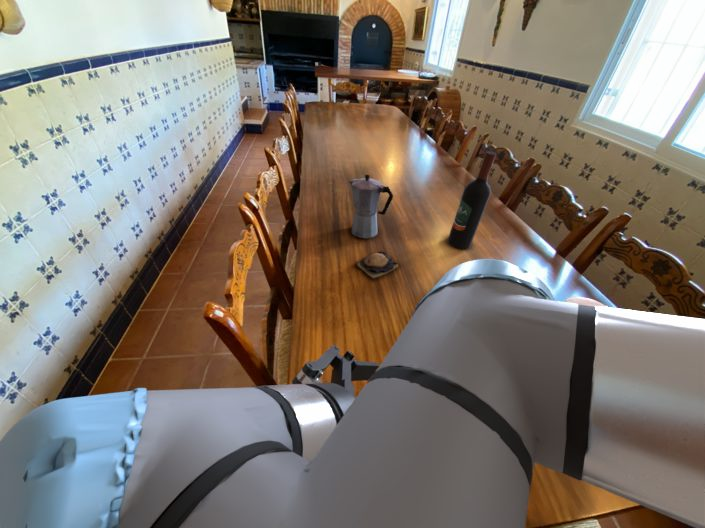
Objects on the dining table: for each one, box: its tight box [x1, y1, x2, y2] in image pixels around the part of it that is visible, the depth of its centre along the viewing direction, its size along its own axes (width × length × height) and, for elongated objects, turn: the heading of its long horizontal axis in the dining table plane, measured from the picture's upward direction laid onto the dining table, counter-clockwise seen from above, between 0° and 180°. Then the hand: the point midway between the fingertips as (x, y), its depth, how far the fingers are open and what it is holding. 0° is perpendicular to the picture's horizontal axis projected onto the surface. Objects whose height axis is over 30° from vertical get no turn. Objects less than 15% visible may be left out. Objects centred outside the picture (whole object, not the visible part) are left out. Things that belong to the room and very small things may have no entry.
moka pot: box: [348, 174, 394, 239], centre depth 94 cm, size 10×15×20 cm, turn 64°
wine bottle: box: [447, 150, 497, 250], centre depth 90 cm, size 8×8×30 cm
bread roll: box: [356, 250, 399, 280], centre depth 86 cm, size 11×8×4 cm
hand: (406, 409), depth 39 cm, fingers open, 13 cm apart
